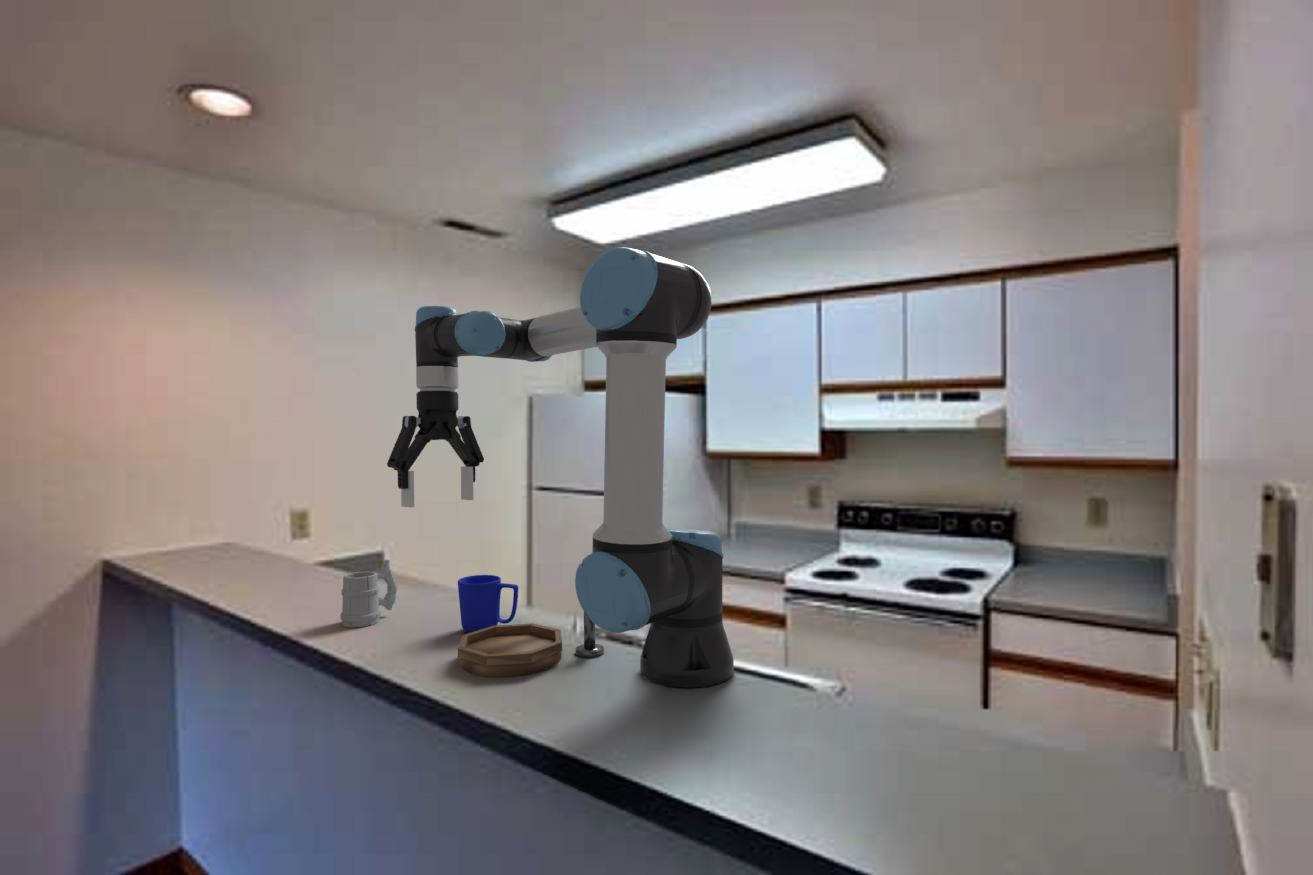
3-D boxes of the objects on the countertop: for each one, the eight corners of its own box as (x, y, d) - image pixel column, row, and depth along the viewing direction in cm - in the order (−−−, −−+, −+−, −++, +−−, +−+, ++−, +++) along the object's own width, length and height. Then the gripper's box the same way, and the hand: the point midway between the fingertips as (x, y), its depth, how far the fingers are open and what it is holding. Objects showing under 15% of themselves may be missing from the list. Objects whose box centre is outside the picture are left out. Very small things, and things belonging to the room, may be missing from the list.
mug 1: (332, 623, 140) (331, 565, 140) (386, 611, 149) (385, 556, 149) (352, 630, 135) (351, 569, 135) (406, 616, 145) (405, 560, 145)
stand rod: (609, 651, 122) (609, 603, 122) (591, 659, 118) (590, 610, 118) (588, 646, 125) (587, 600, 125) (569, 653, 121) (569, 606, 120)
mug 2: (509, 638, 130) (508, 585, 129) (450, 635, 132) (449, 583, 132) (526, 625, 138) (525, 576, 137) (470, 622, 140) (469, 573, 140)
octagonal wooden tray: (581, 654, 120) (581, 634, 120) (508, 684, 106) (508, 662, 106) (514, 637, 130) (513, 619, 130) (438, 663, 116) (438, 642, 116)
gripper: (475, 393, 142) (476, 496, 142) (365, 388, 121) (366, 508, 122) (501, 392, 138) (502, 498, 138) (391, 387, 117) (393, 511, 118)
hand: (438, 503), depth 130 cm, fingers open, 13 cm apart
